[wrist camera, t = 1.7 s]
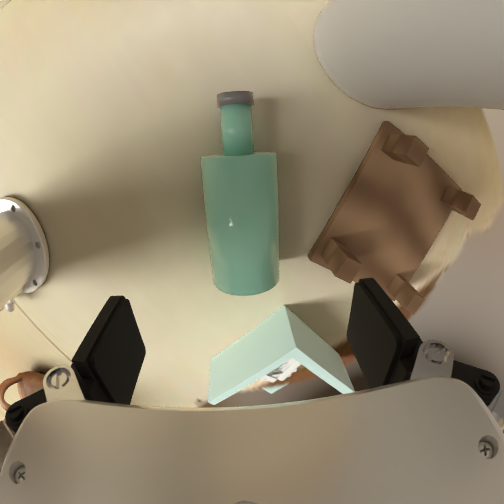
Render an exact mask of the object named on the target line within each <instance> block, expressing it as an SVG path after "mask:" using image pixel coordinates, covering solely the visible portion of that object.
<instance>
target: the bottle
mask: <svg viewBox="0 0 504 504" xmlns="http://www.w3.org/2000/svg"><path fill="white" fill-rule="evenodd" d="M217 105H218V108H220V112H221V129H222V144H223V154H215V155H209V156H204V157H201V170H202V181H203V192H204V202H205V212H206V222H207V231H208V240H209V249H210V257H211V265H212V273H213V281H214V285H215V286H216V287H217V288H218V289H219V290H220V291H222V292H225V293H227V294H231V295H239V296H247V295H255V294H260V293H263V292H266V291H268V290H270V289H271V288H273V287H274V286H275V285H276V284H277V283H278V281H279V222H278V182H277V153H275V152H254V151H253V131H252V112H251V106H252V105H254V101H253V92H249V91H233V92H225V93H220V94H218V95H217Z"/></svg>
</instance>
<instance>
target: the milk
mask: <svg viewBox="0 0 504 504" xmlns="http://www.w3.org/2000/svg"><path fill="white" fill-rule="evenodd" d="M9 1H10V0H0V10H1V9H2V8H3V7H4V6H5V5H6V4H7V3H8V2H9Z"/></svg>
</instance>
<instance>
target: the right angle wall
mask: <svg viewBox="0 0 504 504" xmlns="http://www.w3.org/2000/svg"><path fill="white" fill-rule="evenodd" d="M284 363H285V364H284ZM282 364H283V365H282ZM301 364H302V365H303V366H305V367H306V368H308V369H309V370H310V371H312V372H313V373H314V374H316V375H317V376H319V377H320V378H321V379H323V380H324V381H326V382H327V383H328V384H330V385H331V386H333V387H334V388H335V389H337V390H338V391H340V392H341V393H343V394H347V393H352V392H355V391H354V389H353V386H352V384H351V381H350V379H349V377H348V374H347V372H346V369H345V367H344V364H343V362H342V360H341V357H340V355H339V354H338V353H337V352H336V351H335V350H334V349H333V348H332V347H331V346H329V345H328V344H327V343H326V342H325V341H324V340H323V339H322V338H320V337H319V336H318V335H317V334H316V333H315V332H314V331H313V330H312V329H310V328H309V327H308V326H307V325H306V324H305V323H304V322H303V321H302V320H301V319H299V318H298V317H297V316H296V315H295V314H294V313H293V312H292V311H291V310H290V309H288V308H287V307H286V306H285V305H284V306H282V307H281V308H280V309H278V310H277V311H276V312H274V313H273V314H272V315H271V316H269V317H268V318H267V319H265V320H264V321H263V322H261V323H260V324H259V325H257V326H256V327H255V328H253V329H252V330H251V331H249V332H248V333H246V334H245V335H244V336H242V337H241V338H240V339H238V340H237V341H235V342H234V343H233V344H231V345H230V346H228V347H227V348H226V349H224V350H223V351H221V352H220V353H219V354H217V355H216V356H214V357H213V358H211V360H210V374H209V390H208V402H209V403H211V404H213V405H215V404H217V403H219V402H220V401H222V400H224V399H226V398H228V397H229V396H231V395H233V394H235V393H236V392H238V391H240V390H242V389H243V388H245V387H247V386H248V385H250V384H252V383H254V382H255V381H257V380H258V379H260V380H261V381H265V380H267V381H270V382H275V381H276V380H277V379H279V380H281V381H283V380H284V379H285V378H287V377H290V376H291V373H292V372H296V371H297V367H299V366H300V365H301ZM281 365H282V366H281ZM279 366H280V367H279ZM276 368H277V369H276ZM284 386H286V385H284ZM284 386H280V387H273V388H264V390H265V391H267V392H269V393H270V394H272V393H274V392H275V391H277V390H279V389H281V388H282V387H284Z"/></svg>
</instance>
